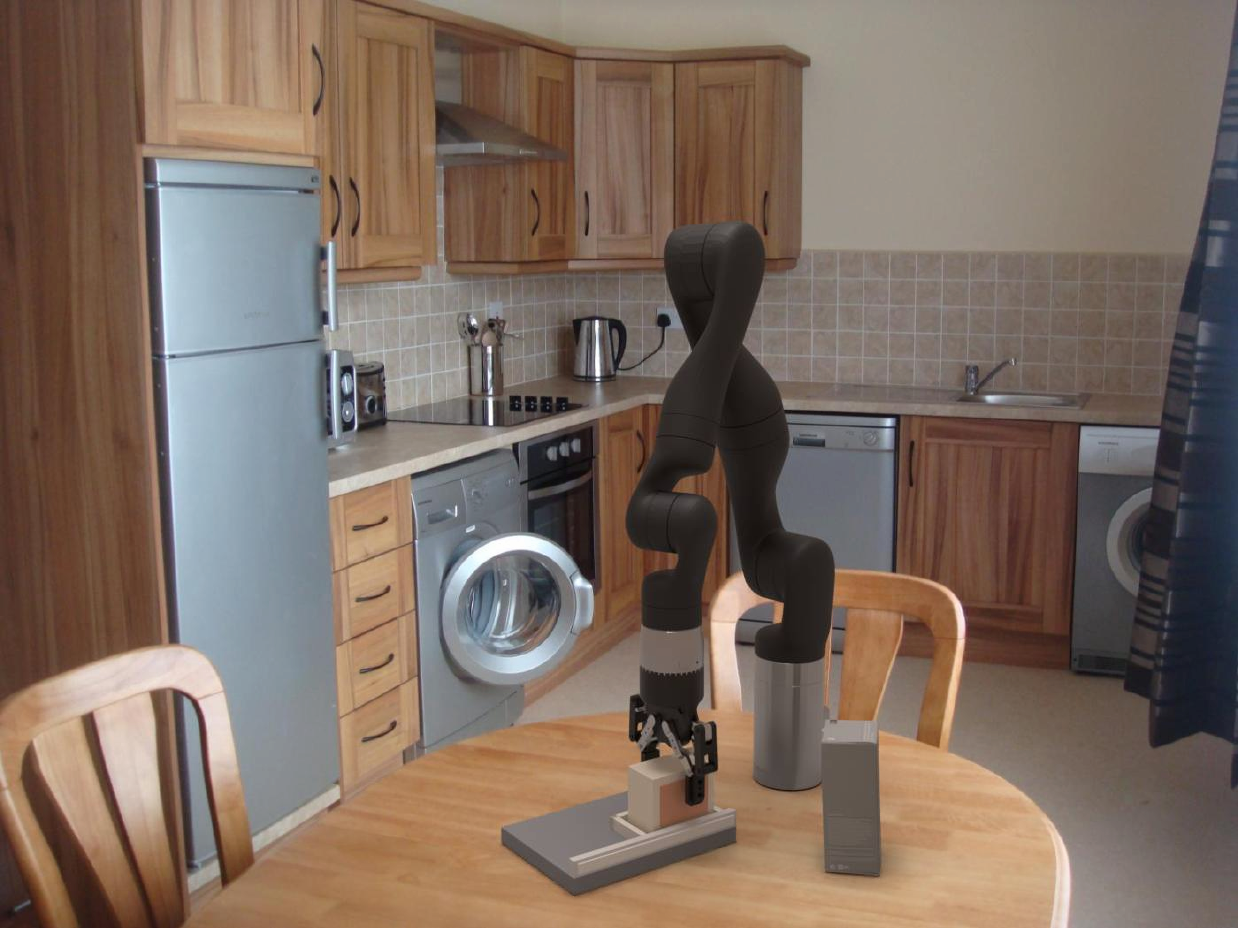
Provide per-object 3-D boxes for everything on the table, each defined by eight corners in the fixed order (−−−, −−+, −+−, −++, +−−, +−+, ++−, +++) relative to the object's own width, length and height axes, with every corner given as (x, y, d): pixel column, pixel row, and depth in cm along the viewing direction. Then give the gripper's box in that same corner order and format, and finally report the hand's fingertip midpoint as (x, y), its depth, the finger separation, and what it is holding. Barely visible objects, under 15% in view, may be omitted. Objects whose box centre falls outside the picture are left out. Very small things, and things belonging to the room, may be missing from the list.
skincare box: (880, 878, 153) (884, 744, 151) (816, 872, 155) (819, 740, 152) (881, 845, 161) (885, 718, 159) (820, 840, 163) (823, 714, 160)
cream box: (688, 811, 166) (688, 749, 165) (714, 825, 162) (714, 762, 161) (627, 829, 161) (627, 765, 160) (653, 845, 157) (653, 780, 156)
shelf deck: (656, 796, 175) (656, 767, 175) (737, 842, 162) (737, 810, 162) (501, 842, 162) (500, 811, 162) (575, 896, 149) (574, 862, 149)
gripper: (735, 670, 155) (735, 804, 157) (661, 639, 166) (661, 765, 169) (683, 683, 150) (683, 820, 153) (610, 651, 162) (611, 779, 165)
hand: (672, 791), depth 161 cm, fingers open, 8 cm apart
